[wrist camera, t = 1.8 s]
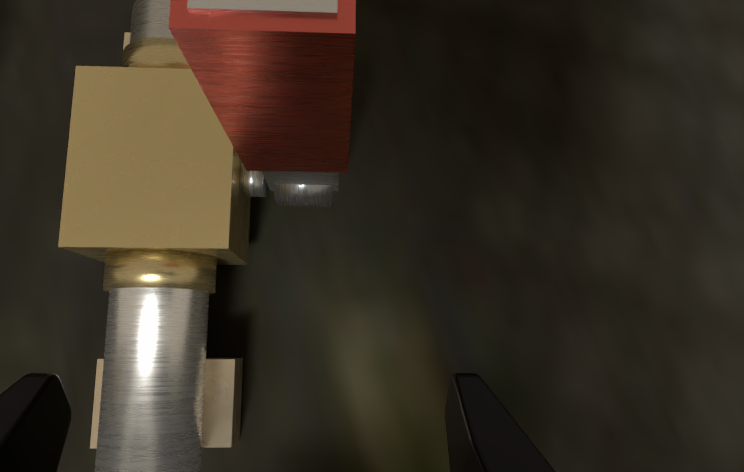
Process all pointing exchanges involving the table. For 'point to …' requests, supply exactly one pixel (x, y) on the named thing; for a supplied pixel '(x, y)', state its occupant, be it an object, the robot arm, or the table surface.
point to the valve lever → (277, 85)
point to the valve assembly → (156, 248)
